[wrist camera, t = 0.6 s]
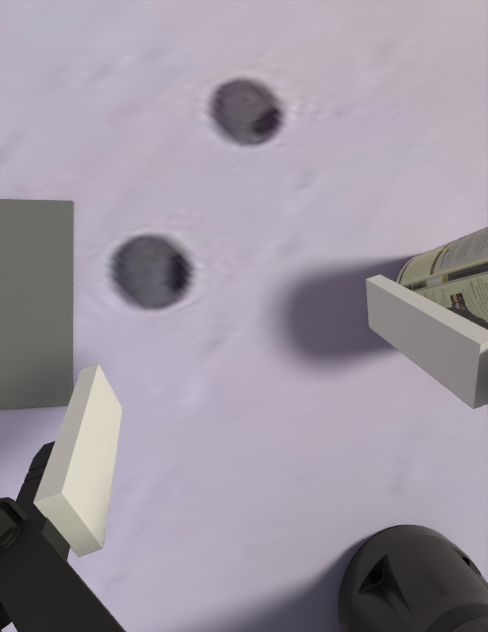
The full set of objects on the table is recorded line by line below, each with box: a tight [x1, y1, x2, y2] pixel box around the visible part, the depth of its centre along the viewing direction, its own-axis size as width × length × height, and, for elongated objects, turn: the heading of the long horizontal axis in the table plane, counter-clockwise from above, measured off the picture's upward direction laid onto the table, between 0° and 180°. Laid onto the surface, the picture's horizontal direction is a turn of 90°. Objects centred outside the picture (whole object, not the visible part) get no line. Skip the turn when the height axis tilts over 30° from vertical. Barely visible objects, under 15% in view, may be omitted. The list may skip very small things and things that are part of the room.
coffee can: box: [396, 227, 488, 322], centre depth 32 cm, size 10×10×14 cm
